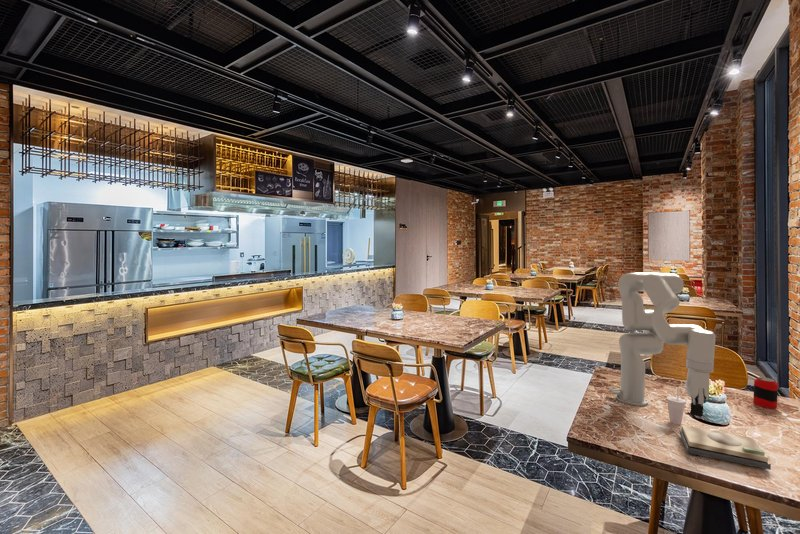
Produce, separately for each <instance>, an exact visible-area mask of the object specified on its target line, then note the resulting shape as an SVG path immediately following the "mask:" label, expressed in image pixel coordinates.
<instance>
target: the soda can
mask: <svg viewBox="0 0 800 534" xmlns="http://www.w3.org/2000/svg"><path fill="white" fill-rule="evenodd" d="M778 388H779V384H778V382H777V381H776V380H775V379H773V378H769V377H763V376H758V377H756V378H755V379H754V381H753V401H752V402H753V404H754V405H755V406H758V407H760V408H763V409H769V410H770V409H771V410H774V409H778V394H779V393H778V392H779V391H778V390H779V389H778Z"/></svg>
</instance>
